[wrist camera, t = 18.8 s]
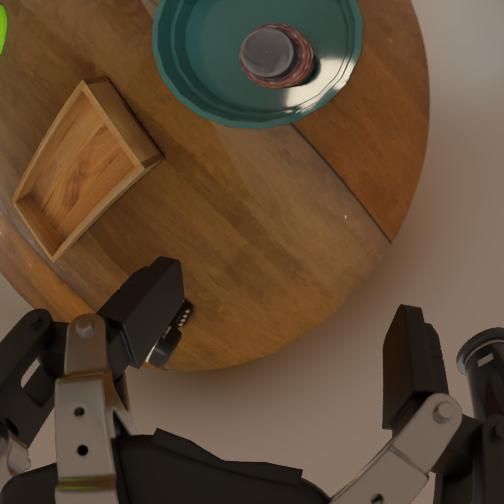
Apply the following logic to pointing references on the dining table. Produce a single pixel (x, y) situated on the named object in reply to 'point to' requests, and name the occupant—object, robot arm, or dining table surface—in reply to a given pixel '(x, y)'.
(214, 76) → the bowl
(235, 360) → the dining table surface
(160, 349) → the battery charger
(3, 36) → the wineglass
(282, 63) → the supplement bottle
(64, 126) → the tray
